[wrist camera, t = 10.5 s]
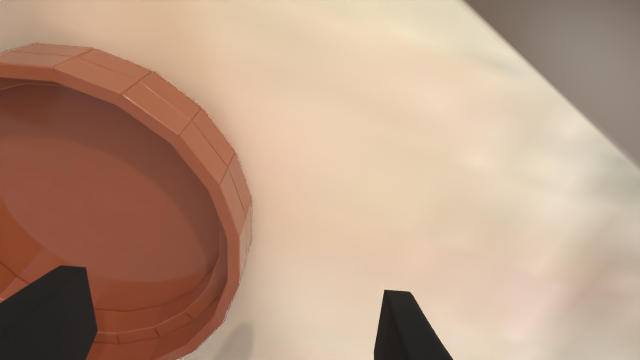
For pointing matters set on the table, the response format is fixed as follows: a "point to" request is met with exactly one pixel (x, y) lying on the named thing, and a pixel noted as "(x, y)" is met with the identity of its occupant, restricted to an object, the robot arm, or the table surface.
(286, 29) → the table surface
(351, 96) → the table surface
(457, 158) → the table surface
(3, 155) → the bowl
